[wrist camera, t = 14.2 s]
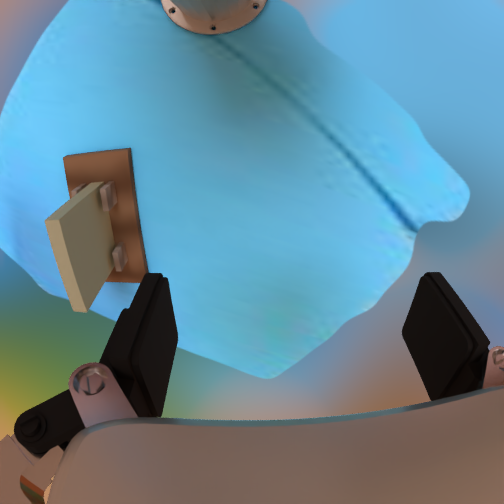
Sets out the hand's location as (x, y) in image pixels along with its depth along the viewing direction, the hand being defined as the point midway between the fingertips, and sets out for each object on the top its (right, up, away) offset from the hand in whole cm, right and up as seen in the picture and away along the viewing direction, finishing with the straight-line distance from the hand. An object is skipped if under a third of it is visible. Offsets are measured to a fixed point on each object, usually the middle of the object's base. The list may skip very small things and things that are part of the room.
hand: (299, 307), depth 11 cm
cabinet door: (-22, +6, +30) cm, 38 cm away
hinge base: (-22, +7, +31) cm, 39 cm away
